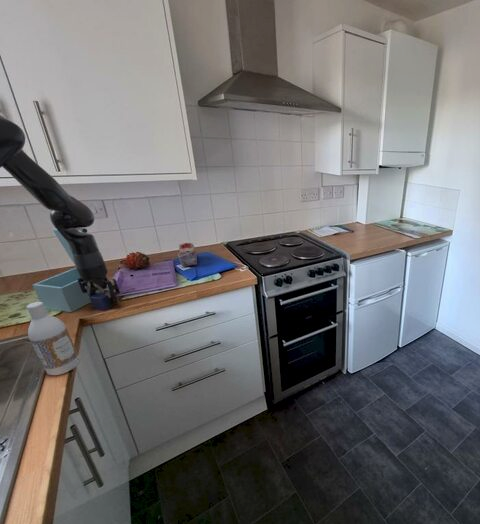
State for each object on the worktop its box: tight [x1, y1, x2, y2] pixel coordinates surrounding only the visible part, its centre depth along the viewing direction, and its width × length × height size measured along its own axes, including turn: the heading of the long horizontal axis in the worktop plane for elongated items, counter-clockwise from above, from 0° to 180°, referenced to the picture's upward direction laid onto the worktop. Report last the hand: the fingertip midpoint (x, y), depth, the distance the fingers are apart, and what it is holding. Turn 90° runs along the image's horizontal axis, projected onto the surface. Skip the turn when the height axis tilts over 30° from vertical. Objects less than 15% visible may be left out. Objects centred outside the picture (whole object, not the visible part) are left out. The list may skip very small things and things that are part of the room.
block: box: [89, 292, 114, 312], centre depth 110 cm, size 5×5×5 cm
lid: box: [52, 227, 88, 267], centre depth 115 cm, size 16×13×5 cm
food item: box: [177, 242, 198, 267], centre depth 146 cm, size 14×8×10 cm, turn 31°
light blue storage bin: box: [32, 266, 110, 313], centre depth 113 cm, size 16×13×10 cm
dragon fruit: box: [119, 251, 150, 271], centre depth 141 cm, size 8×8×12 cm
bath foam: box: [26, 301, 81, 376], centre depth 78 cm, size 7×7×20 cm
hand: (105, 303), depth 110 cm, fingers open, 7 cm apart
